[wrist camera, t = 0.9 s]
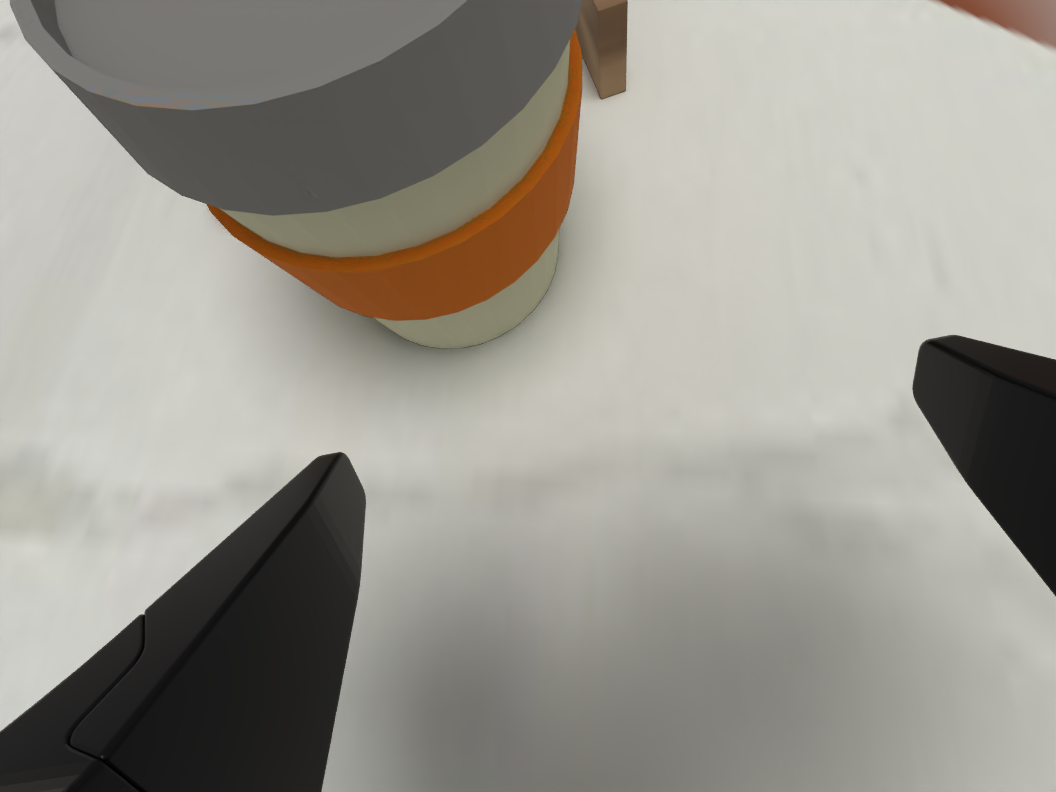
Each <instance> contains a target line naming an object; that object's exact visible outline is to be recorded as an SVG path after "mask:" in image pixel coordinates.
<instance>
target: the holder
mask: <svg viewBox="0 0 1056 792" xmlns="http://www.w3.org/2000/svg"><path fill="white" fill-rule="evenodd" d="M627 4H628V1H627V0H583V1H582V5H581V9H580V13H579V18H578V22H577V26H576V28H575V30H576V34H577V37H578V41H579V45H580V48H581V52H582V56H583V58H584V61H585V63H586V65H587V68H588V70H589V72H590V74H591V77H592V79H593V81H594V84H595V86H596V88H597V91H598V93H599V95H600V97H601V99H603V98H606V97H608V96H611V95H614V94H617V93H620V92H623V91H626V54H627Z"/></svg>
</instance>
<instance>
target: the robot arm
mask: <svg viewBox="0 0 1056 792" xmlns="http://www.w3.org/2000/svg"><path fill="white" fill-rule="evenodd" d="M913 395H914V398H915V401H916V403H917V405H918V406H919V408H920V409H921V411H922V413H923V414H924V416H925V418H926V419H927V421H928V422H929V424H930V426H931V427H932V429H933V431H934V432H935V434H936V435H937V437H938V439H939V440H940V442H941V443H942V445H943V447H944V448H945V450H946V452H947V453H948V455H949V456H950V458H951V460H952V461H953V463H954V465H955V466H956V468H957V469H958V471H959V472H960V474H961V475H962V477H963V478H964V480H965V481H966V483H967V484H968V485H969V487H970V488H971V489H972V491H973V492H974V493H975V495H976V496H977V497H978V499H979V500H980V501H981V502H982V504H983V505H984V506H985V507H986V509H987V510H988V511H989V512H990V514H991V515H992V516H993V518H994V519H995V520H996V521H997V523H998V524H999V525H1000V526H1001V528H1002V529H1003V530H1004V531H1005V533H1006V534H1007V535H1008V537H1009V538H1010V539H1011V540H1012V542H1013V543H1014V544H1015V545H1016V547H1017V548H1018V549H1019V550H1020V552H1021V553H1022V554H1023V556H1024V557H1025V558H1026V559H1027V561H1028V562H1029V563H1030V564H1031V566H1032V567H1033V568H1034V569H1035V571H1036V572H1037V573H1038V575H1039V576H1040V577H1041V578H1042V580H1043V581H1044V582H1045V583H1046V585H1047V586H1048V587H1049V588H1050V590H1051V591H1052V592H1053V594H1054V595H1055V596H1056V360H1055V359H1051V358H1047V357H1043V356H1039V355H1035V354H1031V353H1027V352H1023V351H1019V350H1015V349H1011V348H1007V347H1003V346H999V345H995V344H991V343H987V342H982V341H978V340H974V339H970V338H966V337H962V336H958V335H948V336H943V337H938V338H933V339H928V340H926V341H924V342H923V343H922V344H921V346H920V348H919V352H918V358H917V364H916V369H915V375H914V380H913ZM365 509H366V497H365V492H364V489H363V486H362V484H361V482H360V480H359V478H358V476H357V474H356V472H355V470H354V468H353V466H352V464H351V462H350V460H349V458H348V457H347V456H346V454H344V453H342V452H338V453H332V454H327V455H322V456H319V457H317V458H316V459H315V460H314V461H312V462H311V463H310V464H309V465H308V466H307V467H306V468H305V469H303V470H302V471H301V472H300V473H299V474H298V475H297V476H296V477H294V478H293V479H292V480H291V481H290V482H289V483H288V484H287V485H285V486H284V487H283V488H282V489H281V490H280V491H279V492H278V493H276V494H275V495H274V496H273V497H272V498H271V499H270V500H269V501H267V502H266V503H265V504H264V505H263V506H262V507H261V508H260V509H258V510H257V511H256V512H255V513H254V514H253V515H252V516H251V517H249V518H248V519H247V520H246V521H245V522H244V523H243V524H242V525H240V526H239V527H238V528H237V529H236V530H235V531H234V532H233V533H231V534H230V535H229V536H228V537H227V538H226V539H225V540H224V541H222V542H221V543H220V544H219V545H218V546H217V547H216V548H215V549H213V550H212V551H211V552H210V553H209V554H208V555H207V556H206V557H204V558H203V559H202V560H201V561H200V562H199V563H198V564H197V565H195V566H194V567H193V568H192V569H191V570H190V571H189V572H188V573H186V574H185V575H184V576H183V577H182V578H181V579H180V580H179V581H177V582H176V583H175V584H174V585H173V586H172V587H171V588H170V589H168V590H167V591H166V592H165V593H164V594H163V595H162V596H161V597H159V598H158V599H157V600H156V601H155V602H154V603H153V604H152V605H150V606H149V607H148V608H147V609H146V610H145V615H143V614H141V615H139V616H138V617H137V618H136V619H135V620H133V621H132V622H131V623H130V624H129V625H128V626H127V627H126V628H125V629H123V630H122V631H121V632H120V633H119V634H118V635H117V636H116V637H114V638H113V639H112V640H111V641H110V642H109V643H107V644H106V645H105V646H104V647H103V648H102V649H100V650H99V651H98V652H97V653H96V654H95V655H94V656H92V657H91V658H90V659H89V660H88V661H87V662H85V663H84V664H83V665H82V666H81V667H80V668H78V669H77V670H76V671H75V672H73V673H72V674H71V675H70V676H69V677H67V678H66V679H65V680H64V681H62V682H61V683H60V684H59V685H58V686H56V687H55V688H54V689H53V690H51V691H50V692H49V693H48V694H46V695H45V696H44V697H43V698H42V699H40V700H39V701H38V702H37V703H35V704H34V705H33V706H32V707H30V708H29V709H28V710H27V711H25V712H24V713H23V714H22V715H20V716H19V717H18V718H17V719H15V720H14V721H13V722H12V723H10V724H9V725H8V726H7V727H5V728H4V729H3V730H2V731H0V792H321V791H322V785H323V780H324V775H325V769H326V764H327V759H328V754H329V748H330V743H331V738H332V732H333V727H334V722H335V716H336V711H337V706H338V701H339V695H340V690H341V685H342V679H343V674H344V669H345V663H346V658H347V653H348V648H349V642H350V637H351V632H352V626H353V621H354V616H355V610H356V605H357V600H358V594H359V587H360V579H361V567H362V553H363V538H364V523H365Z"/></svg>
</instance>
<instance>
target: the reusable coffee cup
mask: <svg viewBox="0 0 1056 792" xmlns="http://www.w3.org/2000/svg"><path fill="white" fill-rule="evenodd" d="M582 1H583V0H10V6H11V8H12V11H13V13H14V15H15V17H16V20H17V22H18V24H19V26H20V29H21V31H22V33H23V36H24V38H25V40H26V41H27V42H28V43H29V44H30V45H31V47H32V48H33V49H34V50H35V51H36V52H37V53H38V54H39V56H40V57H41V58H42V59H43V60H44V61H45V62H46V63H47V64H48V66H49V67H50V68H51V69H52V70H53V71H54V72H55V73H56V74H57V75H58V77H59V78H60V79H61V80H62V81H63V82H64V83H65V84H66V85H67V86H68V87H69V89H70V90H71V91H72V92H73V93H74V94H75V95H76V96H77V97H78V98H79V99H80V100H81V102H82V103H83V104H84V105H85V106H86V107H87V108H88V109H89V110H90V111H91V112H92V114H93V115H94V116H95V117H96V118H97V119H98V120H99V121H100V122H101V123H102V124H103V126H104V127H105V128H106V129H107V130H108V131H109V132H110V133H111V134H112V135H113V136H114V138H115V139H116V140H117V141H118V142H119V143H120V144H121V145H122V146H123V147H124V148H125V150H126V151H127V152H128V153H129V154H130V155H131V156H132V157H133V158H134V159H135V160H136V162H137V163H138V164H139V165H140V166H141V167H142V168H143V169H144V170H145V171H146V172H147V173H148V174H149V175H151V176H152V177H154V178H155V179H157V180H158V181H160V182H162V183H163V184H165V185H166V186H168V187H169V188H171V189H172V190H174V191H176V192H177V193H179V194H180V195H182V196H185V197H188V198H191V199H194V200H197V201H200V202H202V203H205V204H207V206H208V208H209V210H210V211H211V213H212V214H213V215H214V216H215V217H216V218H217V219H218V220H219V221H220V223H221V224H222V225H223V226H224V227H225V228H226V229H227V230H228V231H229V232H230V233H231V234H232V236H234V237H235V238H237V239H238V240H240V241H241V242H243V243H244V244H246V245H247V246H249V247H250V248H252V249H253V250H255V251H256V252H258V253H259V254H261V255H262V256H264V257H265V258H267V259H268V260H270V261H271V262H273V263H274V264H276V265H277V266H279V267H280V268H282V269H283V270H285V271H286V272H288V273H289V274H291V275H292V276H294V277H295V278H297V279H298V280H300V281H301V282H303V283H304V284H306V285H307V286H309V287H310V288H312V289H313V290H315V291H316V292H318V293H319V294H321V295H322V296H324V297H325V298H327V299H329V300H330V301H332V302H333V303H335V304H336V305H338V306H339V307H342V308H344V309H347V310H350V311H353V312H355V313H358V314H361V315H363V316H366V317H373V318H375V319H376V320H377V321H379V322H380V323H382V324H383V325H385V326H386V327H387V328H389V329H390V330H392V331H393V332H395V333H396V334H398V335H400V336H401V337H403V338H404V339H406V340H409V341H412V342H414V343H417V344H420V345H422V346H428V347H435V348H441V349H446V348H464V347H469V346H473V345H478V344H482V343H485V342H487V341H489V340H492V339H494V338H496V337H499V336H501V335H503V334H504V333H506V332H507V331H509V330H511V329H512V328H514V327H515V326H517V325H518V324H520V323H521V322H522V321H523V320H524V319H525V318H526V317H527V316H528V315H529V314H530V313H531V312H532V311H533V310H534V309H535V308H536V306H537V305H538V304H539V302H540V301H541V299H542V298H543V297H544V295H545V294H546V292H547V290H548V287H549V285H550V283H551V281H552V279H553V277H554V272H555V268H556V264H557V259H558V244H559V228H560V226H561V224H562V221H563V219H564V217H565V215H566V213H567V211H568V207H569V202H570V198H571V194H572V189H573V185H574V175H575V164H576V153H577V141H578V130H579V118H580V107H581V95H582V52H581V48H580V45H579V41H578V37H577V34H576V30H575V28H576V26H577V22H578V18H579V13H580V9H581V5H582Z"/></svg>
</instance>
